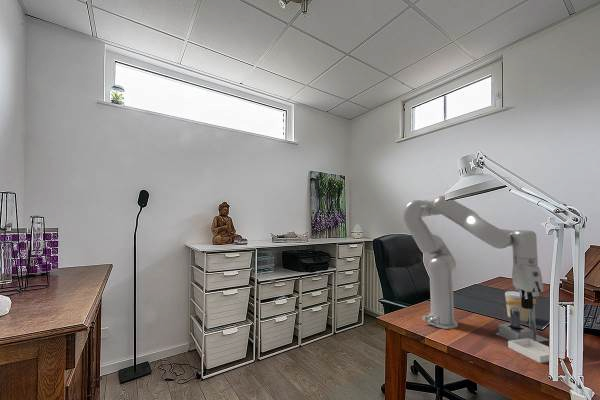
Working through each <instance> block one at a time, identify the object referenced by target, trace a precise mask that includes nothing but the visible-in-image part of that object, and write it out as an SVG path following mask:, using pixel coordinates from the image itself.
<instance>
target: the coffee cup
mask: <svg viewBox="0 0 600 400" xmlns="http://www.w3.org/2000/svg"><path fill="white" fill-rule="evenodd" d="M504 297H505V302H506V301H515V300H521V297H520V293H519V291H514V290H513V291H511V290H510V291H509V290H508V291H505V293H504ZM505 305H506V304H505ZM511 306H514V307H518V308H520V322H524V323H526V322H529V309H525V308H522V305H521V304H520V305H511ZM506 313H507V317H509V318H510V306H509V305H506Z"/></svg>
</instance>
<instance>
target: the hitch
mask: <svg viewBox="0 0 600 400" xmlns="http://www.w3.org/2000/svg"><path fill="white" fill-rule="evenodd" d="M535 305H536V304H533V309H529V315H528V325H529V328H528V327H526V326H523V325H521V330H515V329H513V328H511V322H508V323H507V322H506V323H500V324H499V323H498V332H496V333H494V334H495V335H498V336H500V337H501V338H503V339H505V340H508V341H512V340H519V339H525V338H529V339H532V340H534V341H536V342H539V343H541V342H545V341H546V342H547V341H550V339H549V338H547V337H544V336H542V335H538V334H537V327H536V326H537V325H536V306H535Z"/></svg>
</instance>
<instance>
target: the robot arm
mask: <svg viewBox="0 0 600 400" xmlns="http://www.w3.org/2000/svg"><path fill="white" fill-rule="evenodd" d="M445 196H446V195H440V196H438V197H436V198H432V199H424V200H422V199H414V200H411V201H410V202H408V203H407V204H406V205H405V207H404V209H403V214H402V217H403V222H404V223H405V226H406V228H407V229H408V230H409V231H408V232H410V236H412V239H413V240H414V241H415V243H416V244H417V247H418V248H419V250H420V252H422V254H423V255H429V257H430V258H431V259H430V260H429V262H428V266H427V269H428V275H429V276H428V277H429V292H430V295H429V297H430V312H428V315H422V317H421V319H422V320H423V321H427V322H428V324H429V325H431V326H433V327H436V328H440V329H444V330H450V329H455V328H458V327H459V323H458V321H456V320H455V313H454V311H455V310H454V309H455V308H454V285H453V277H452V272H454V270H455V269H456V267H457V262H456V258H455V257H454V255H452V253H451V251H450V250H449V248H448V246H447V245H446V243H445V241H444V240H443V239H442V238H441V237H440V236H439V235H437V234H434V233H432V232H431V230H430V229H429V227H428V226H427V224H426V223H425V221H424V220H423V218H424V217H431V216H439V215H442V216H443V217H445V218H447V219H448V220H450V221H452V222H454V224H457V225H458V226H460V227H461V228H463V230H466V231H467V232H468V233H470V234H472V235H473V236H474V237H476V238H478V239H480V240H481V241H482V242H484V243H486V244H488V245H489V246H491V247H492V248H494V249H500V250H501V249H506V248H507V247H512V273H511V279H512V280H511V281H512V285H513V286H514V289H515V290H516V291H517V292H519V293H520V297H521V305H522V308H525V309H533V299H535V297H537V298H538V297H540V294H542V293H543V292H544V283H543V282H544V281H543V276H542V273H541V269H540V266H539V263H538V262H539V261H538V260H539V259H538V244H537V243H538V242H537V241H538V240H537V233H536V232H535V231H534V230H533V231H532V230H525V229H524V230H523V229H522V230H521V229H519V230H511V229H505V228H499V227H496V226H495V225H493V224H492V223H489V222H488V221H486V220H485V219H483V218H482V217H480V216H479V214H478V213H477V212H476V211H474V210H472V209H470V208H468V207H467V206H465V205H463V204H462V203H460V202H458V201H456V200H455V199H454V200H449V201H446V200H445Z"/></svg>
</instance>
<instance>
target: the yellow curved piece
mask: <svg viewBox="0 0 600 400" xmlns="http://www.w3.org/2000/svg"><path fill="white" fill-rule="evenodd" d="M520 304H521V300H515V301H506V300H505V305H509V306H511V305H520ZM533 304H535V305H536V304H537V300H536V299H535V298H534V299H533Z"/></svg>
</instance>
